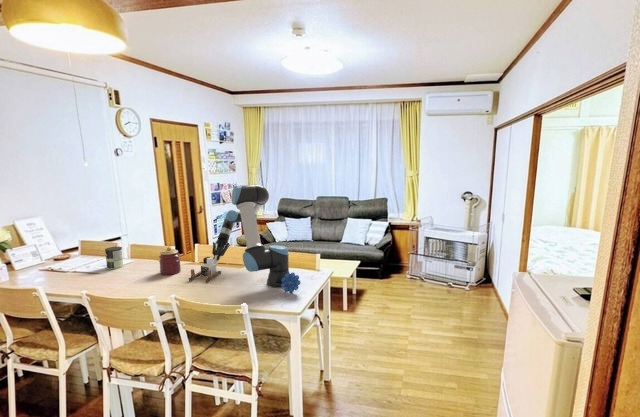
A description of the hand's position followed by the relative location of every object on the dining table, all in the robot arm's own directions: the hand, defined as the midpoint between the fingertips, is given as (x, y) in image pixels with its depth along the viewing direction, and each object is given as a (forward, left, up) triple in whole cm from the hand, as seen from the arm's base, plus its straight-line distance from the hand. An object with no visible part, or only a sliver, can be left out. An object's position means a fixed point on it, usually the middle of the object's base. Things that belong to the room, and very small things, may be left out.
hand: (214, 264), depth 227 cm
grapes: (-67, -9, -5) cm, 68 cm away
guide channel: (-6, +10, -5) cm, 13 cm away
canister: (+22, +20, -5) cm, 30 cm away
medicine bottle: (-4, +7, -5) cm, 9 cm away
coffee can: (+64, +41, -5) cm, 76 cm away
